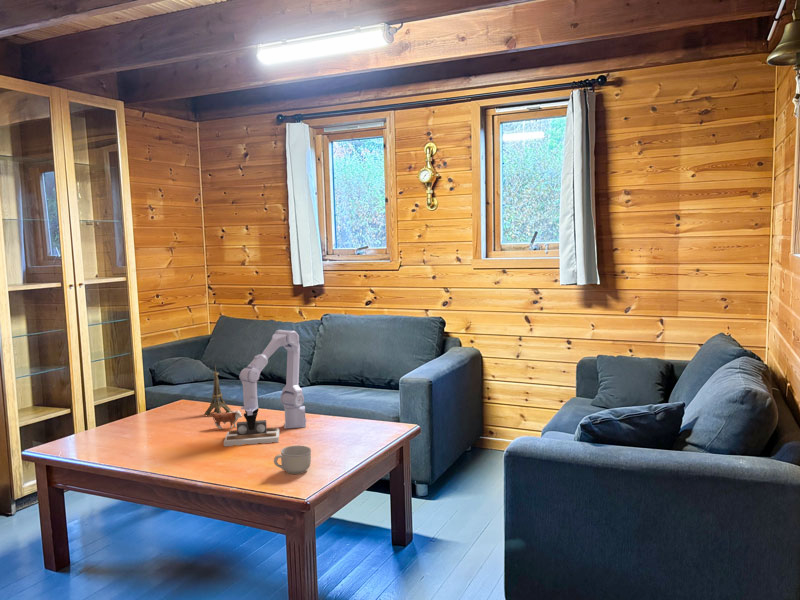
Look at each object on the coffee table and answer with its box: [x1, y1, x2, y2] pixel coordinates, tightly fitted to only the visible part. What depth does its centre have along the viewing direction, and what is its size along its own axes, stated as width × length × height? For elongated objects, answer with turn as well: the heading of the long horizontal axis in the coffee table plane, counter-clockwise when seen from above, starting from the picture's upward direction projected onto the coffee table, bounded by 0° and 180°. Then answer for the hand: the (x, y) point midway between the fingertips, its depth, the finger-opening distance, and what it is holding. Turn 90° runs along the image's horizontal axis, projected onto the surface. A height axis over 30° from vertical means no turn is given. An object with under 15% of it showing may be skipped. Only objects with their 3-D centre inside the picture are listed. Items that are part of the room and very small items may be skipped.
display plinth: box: [223, 426, 280, 447], centre depth 265 cm, size 22×14×3 cm, turn 99°
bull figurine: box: [212, 409, 243, 430], centre depth 284 cm, size 4×13×8 cm, turn 89°
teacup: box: [273, 445, 312, 475], centre depth 224 cm, size 14×11×8 cm
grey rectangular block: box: [236, 419, 268, 435], centre depth 265 cm, size 12×3×6 cm, turn 100°
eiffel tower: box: [203, 364, 233, 417], centre depth 309 cm, size 11×11×25 cm
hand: (252, 428), depth 265 cm, fingers open, 4 cm apart
